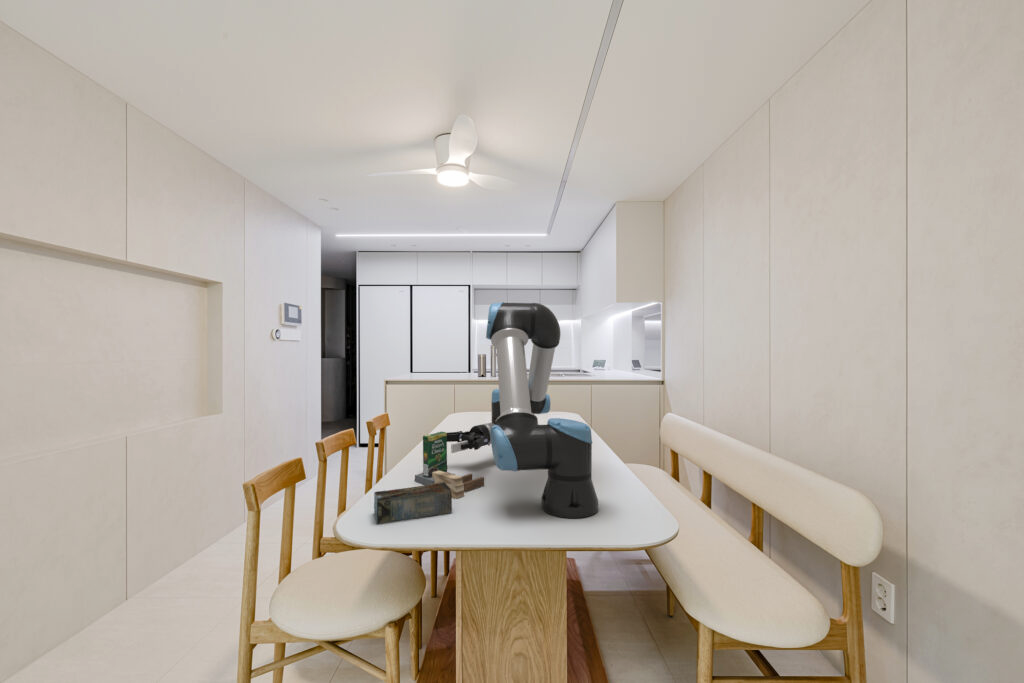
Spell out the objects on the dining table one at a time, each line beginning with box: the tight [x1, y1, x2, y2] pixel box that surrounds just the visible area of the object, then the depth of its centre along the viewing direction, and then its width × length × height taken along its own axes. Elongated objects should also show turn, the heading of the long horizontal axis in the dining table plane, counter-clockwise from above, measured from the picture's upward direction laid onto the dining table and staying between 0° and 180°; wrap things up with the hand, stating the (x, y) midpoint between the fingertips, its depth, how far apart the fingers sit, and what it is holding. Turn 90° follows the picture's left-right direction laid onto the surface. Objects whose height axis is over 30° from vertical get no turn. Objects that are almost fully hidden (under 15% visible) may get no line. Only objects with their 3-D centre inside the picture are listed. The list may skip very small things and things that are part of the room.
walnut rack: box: [460, 473, 485, 493], centre depth 133 cm, size 6×8×2 cm
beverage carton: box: [373, 483, 453, 525], centre depth 112 cm, size 8×19×7 cm, turn 113°
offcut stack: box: [432, 470, 465, 499], centre depth 127 cm, size 11×3×5 cm, turn 49°
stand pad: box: [414, 471, 456, 485], centre depth 138 cm, size 9×9×2 cm
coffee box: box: [422, 431, 448, 478], centre depth 138 cm, size 8×3×13 cm, turn 139°
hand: (437, 445), depth 140 cm, fingers open, 13 cm apart
